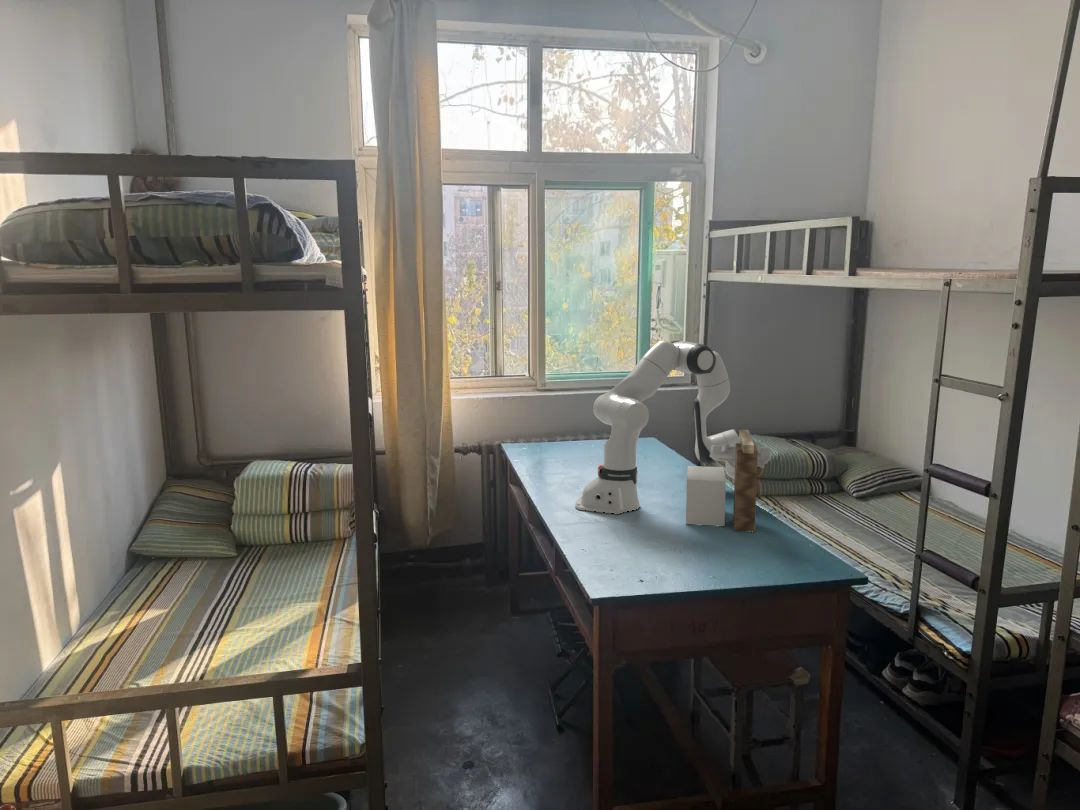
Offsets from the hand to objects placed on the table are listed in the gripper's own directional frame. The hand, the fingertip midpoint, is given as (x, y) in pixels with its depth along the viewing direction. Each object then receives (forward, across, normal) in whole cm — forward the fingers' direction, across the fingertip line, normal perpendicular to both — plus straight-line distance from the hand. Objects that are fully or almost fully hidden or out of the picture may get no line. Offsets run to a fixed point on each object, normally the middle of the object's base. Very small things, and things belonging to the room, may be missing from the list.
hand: (741, 446), depth 249 cm
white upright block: (+1, -12, +26) cm, 28 cm away
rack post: (+8, 0, +30) cm, 31 cm away
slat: (+19, 0, +6) cm, 20 cm away
